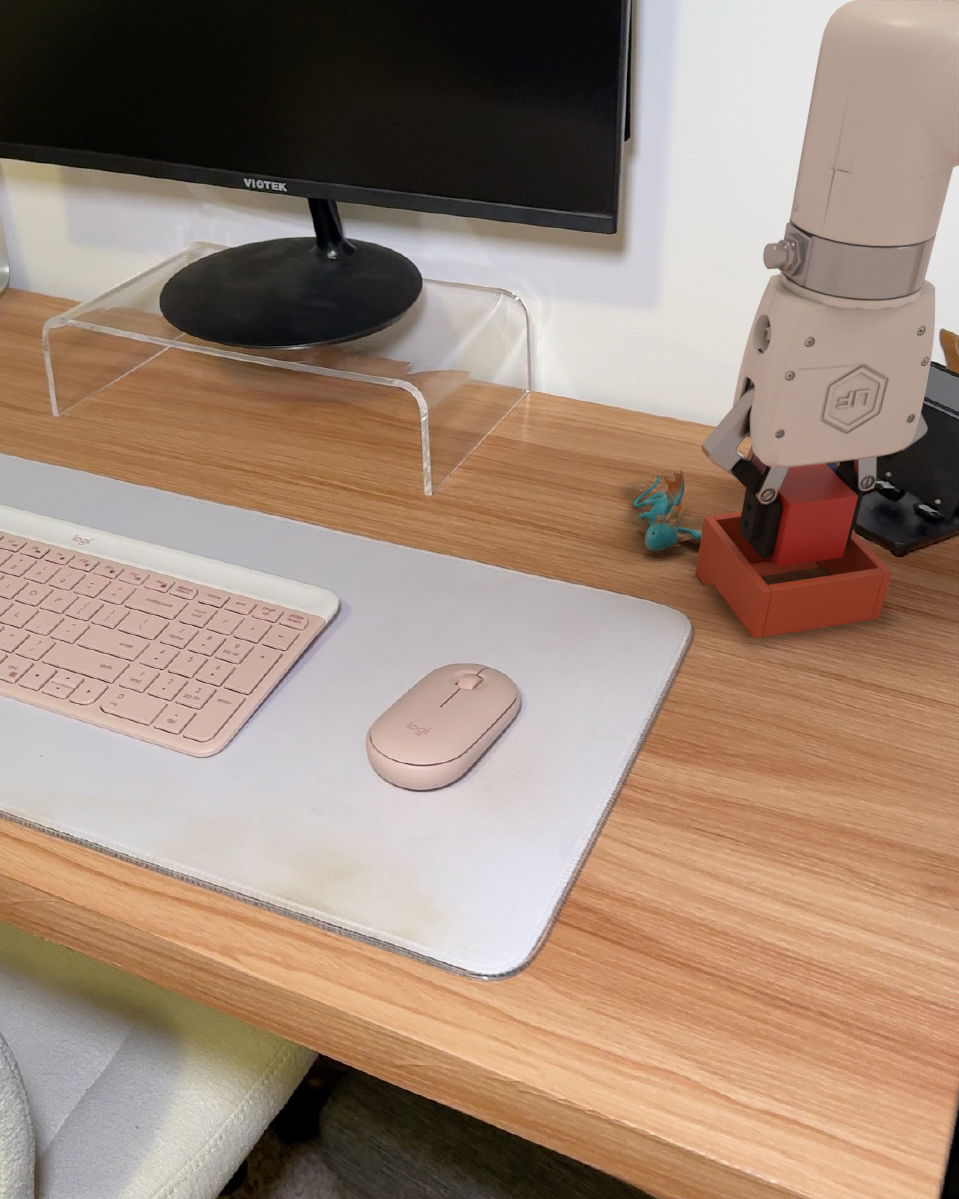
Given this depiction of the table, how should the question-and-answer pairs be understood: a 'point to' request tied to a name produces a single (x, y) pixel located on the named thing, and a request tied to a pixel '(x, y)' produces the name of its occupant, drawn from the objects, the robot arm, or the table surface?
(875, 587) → the red bin
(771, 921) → the table surface
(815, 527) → the red block
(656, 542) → the dragon figurine
